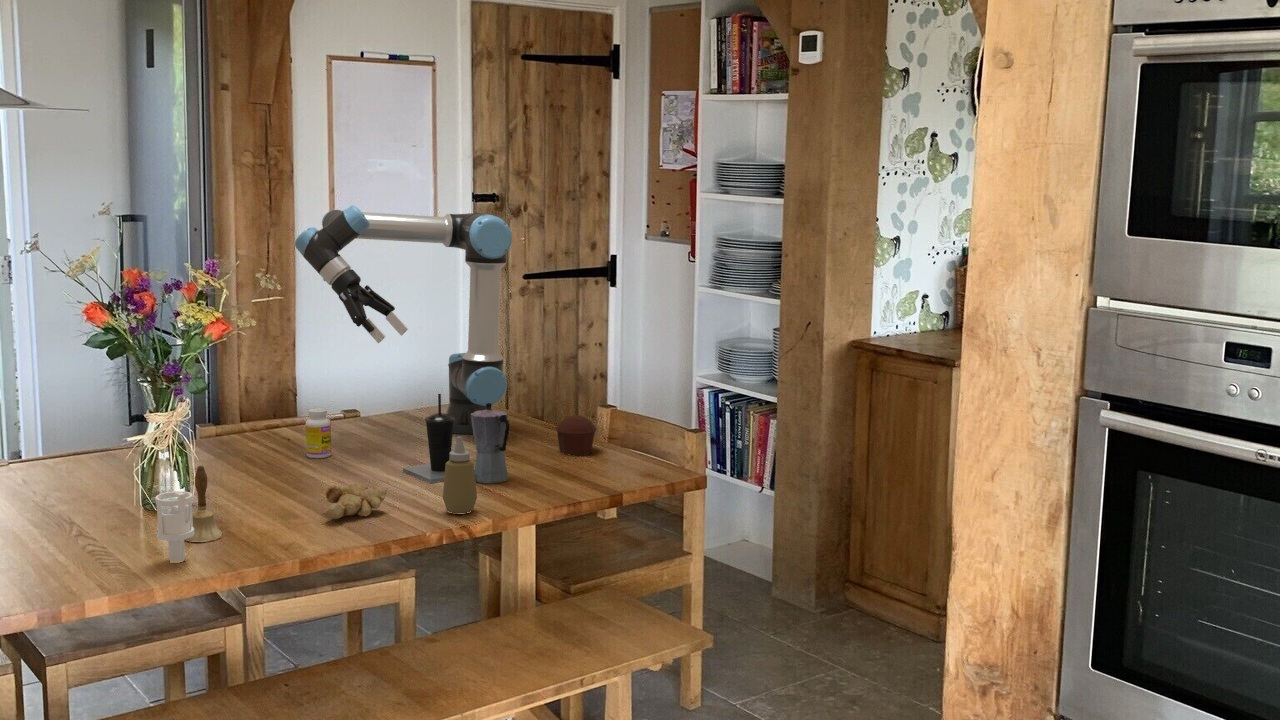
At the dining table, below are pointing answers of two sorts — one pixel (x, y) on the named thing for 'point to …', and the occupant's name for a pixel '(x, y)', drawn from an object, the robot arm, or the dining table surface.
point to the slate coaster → (425, 473)
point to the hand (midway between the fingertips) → (393, 336)
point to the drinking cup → (439, 438)
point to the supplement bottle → (318, 434)
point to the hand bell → (203, 512)
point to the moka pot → (490, 444)
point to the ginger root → (353, 500)
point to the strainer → (175, 521)
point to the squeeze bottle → (459, 481)
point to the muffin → (575, 435)
